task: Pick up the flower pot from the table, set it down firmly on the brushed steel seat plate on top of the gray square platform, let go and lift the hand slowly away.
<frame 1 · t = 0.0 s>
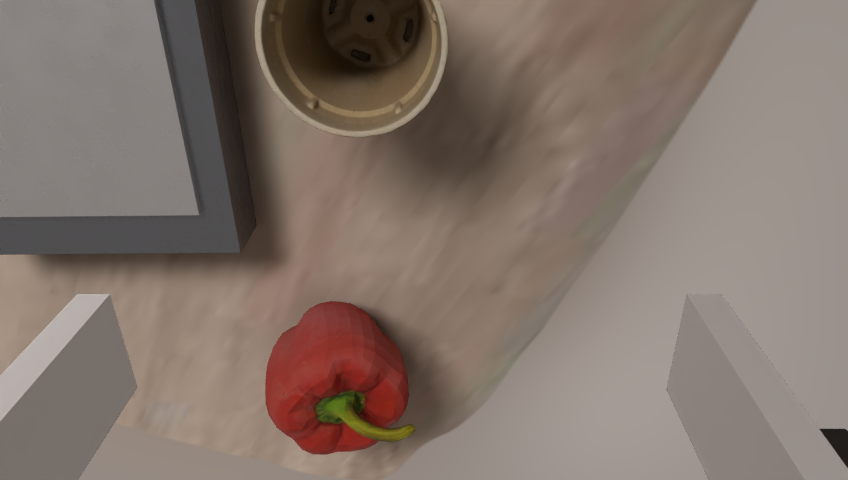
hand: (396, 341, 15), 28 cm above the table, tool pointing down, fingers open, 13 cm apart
flower pot: (369, 16, 38), on the table
gray square platform: (95, 88, 40), on the table
vegetable: (351, 336, 49), on the table
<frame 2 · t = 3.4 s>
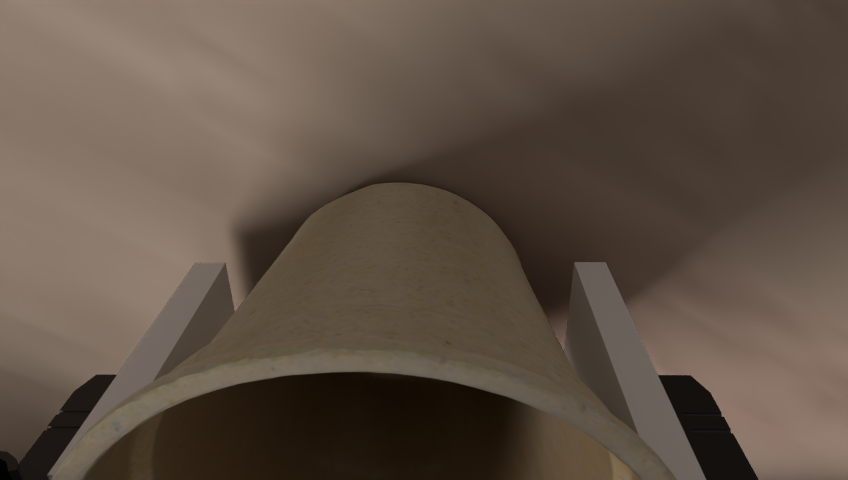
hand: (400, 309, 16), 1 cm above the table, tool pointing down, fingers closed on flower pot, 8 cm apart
flower pot: (403, 285, 17), on the table, touching gripper
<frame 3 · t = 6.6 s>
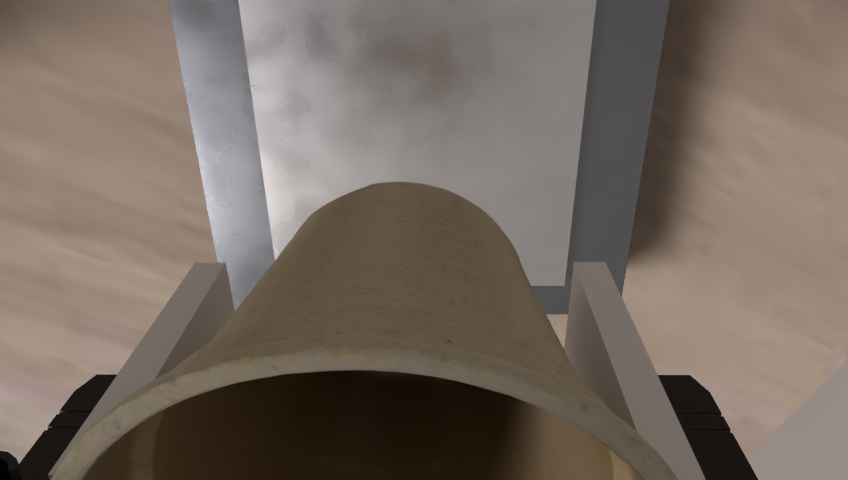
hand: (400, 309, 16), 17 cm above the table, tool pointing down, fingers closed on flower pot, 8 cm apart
flower pot: (404, 285, 17), point 16 cm above the table, touching gripper
gray square platform: (421, 118, 31), on the table
when the fingers open (5 cm above the table, at t = 10.2 s): flower pot stays where it is, resting on gray square platform.
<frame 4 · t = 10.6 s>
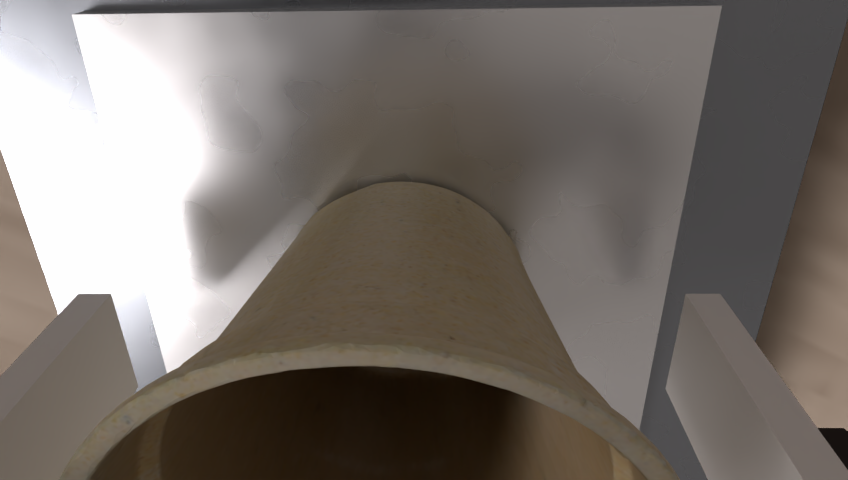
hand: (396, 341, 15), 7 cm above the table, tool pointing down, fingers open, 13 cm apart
flower pot: (406, 283, 17), point 4 cm above the table, touching gray square platform
gray square platform: (409, 214, 21), on the table
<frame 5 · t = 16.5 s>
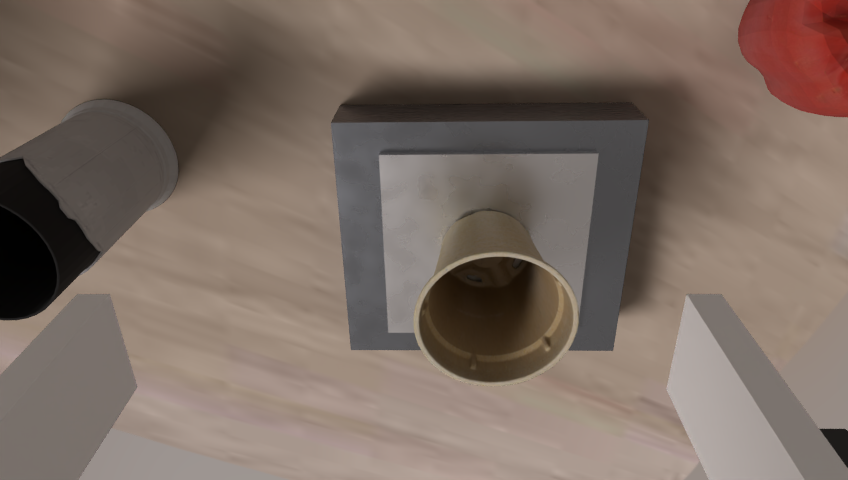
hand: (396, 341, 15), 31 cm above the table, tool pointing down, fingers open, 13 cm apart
flower pot: (486, 249, 43), point 4 cm above the table, touching gray square platform
gray square platform: (481, 221, 47), on the table
grey pitcher: (90, 173, 46), on the table
vegetable: (802, 7, 40), on the table
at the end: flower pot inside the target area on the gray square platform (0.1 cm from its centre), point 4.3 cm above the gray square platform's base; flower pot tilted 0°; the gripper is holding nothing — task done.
